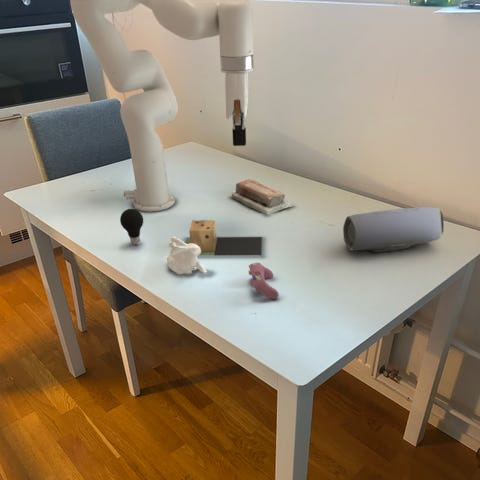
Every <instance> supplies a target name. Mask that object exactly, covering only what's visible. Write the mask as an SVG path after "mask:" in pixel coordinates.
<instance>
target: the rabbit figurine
mask: <svg viewBox="0 0 480 480" xmlns="http://www.w3.org/2000/svg"><path fill="white" fill-rule="evenodd" d="M168 247H169V248H170V251H169V253H168V254H167V255H166V262H167V266H168V268H169V269H170V270H171V271H173V272H174V273H176V274H178V275H182V274H188V275H190V274H192V271H196V270H197V269H198V270H199V271H200V272H201V273H203V274H206V273H207V272H208V271H207V270H206V269H205V267H204V266H203V264H202V263H201V262H200V260H199V258H198V256H197V255H199V254H200V253H201V249H200V247H199V246H198V245H196V244H194V243H190V244H186V242H184V241H183V240H181V238H178V237H176V236H171V237H170V239H169V242H168Z"/></svg>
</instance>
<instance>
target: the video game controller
mask: <svg viewBox="0 0 480 480" xmlns="http://www.w3.org/2000/svg"><path fill="white" fill-rule="evenodd" d="M248 268H249V270H248V275H250V276H251V277H252V278H250V281H251V283H252V286H253V288H254V290H255V291H256V292H257V293H259V294H260V295H262V296H263V297H265V298H268V299H272V300H275V299H278V297H279V296H280V295H279V294H280V293H279V292H278V290H277V289H276V288H274V287H272V286H271V285H269V283H267V282H266V279H273V277H274V273H273V271H272V270H271V269H269V268H268V267H266V266H264V265H263V264H262V263H260V262H259V261H256V262H252V263H251V264H248Z"/></svg>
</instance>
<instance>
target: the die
mask: <svg viewBox="0 0 480 480" xmlns="http://www.w3.org/2000/svg"><path fill="white" fill-rule="evenodd" d="M188 233H189V238H190V242H191V243H194V244H196V245H198V246H199V247H200V249H201V252H215V248H216V242H217V237H218V236H217V222H216V220H215V219H201V220H200V219H199V220H197V219H196V220H195V219H193V220H191V224H190V227H189V232H188Z"/></svg>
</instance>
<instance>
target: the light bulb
mask: <svg viewBox="0 0 480 480" xmlns="http://www.w3.org/2000/svg"><path fill="white" fill-rule="evenodd" d="M119 221H120V222H119V223H120V226H121V227H122V229H124V230H125V231H126V232H127V235H128V237H129V239H130V243H131V244H132V245H134V246H138V244H140V243H141V238H140V235H141V229H142V228H143V225H144V216H143V214H142V213H141V212H140V210H138V209H136V208H127V209H125V210H123V212H122V213H121V215H120V218H119Z"/></svg>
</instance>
